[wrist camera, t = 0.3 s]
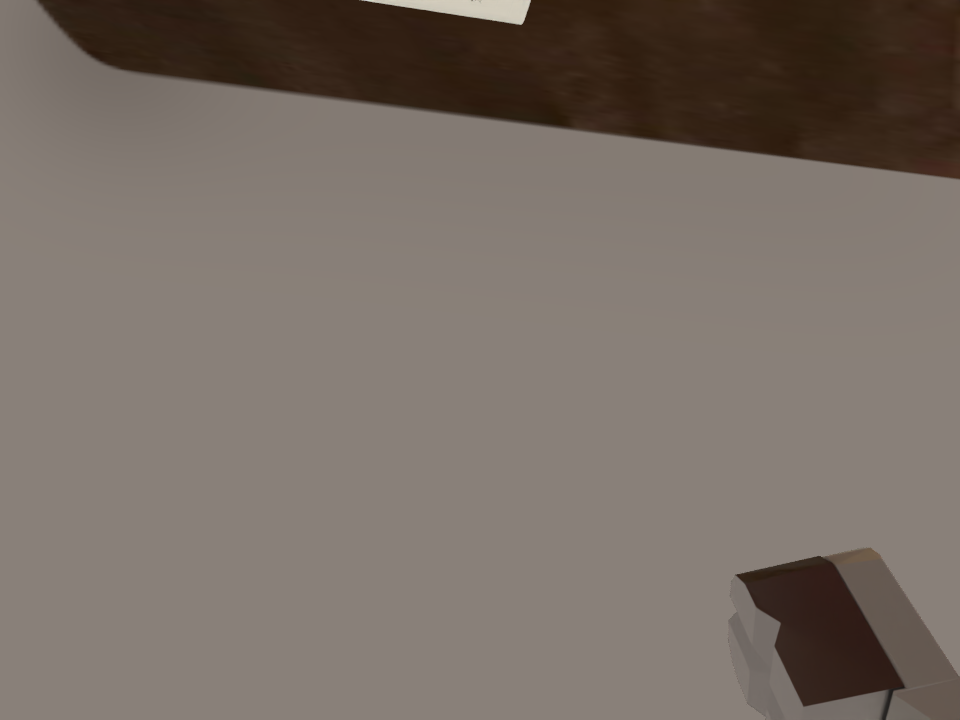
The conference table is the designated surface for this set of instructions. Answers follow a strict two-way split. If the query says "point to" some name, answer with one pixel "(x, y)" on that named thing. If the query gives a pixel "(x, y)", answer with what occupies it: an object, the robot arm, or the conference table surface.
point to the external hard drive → (471, 8)
